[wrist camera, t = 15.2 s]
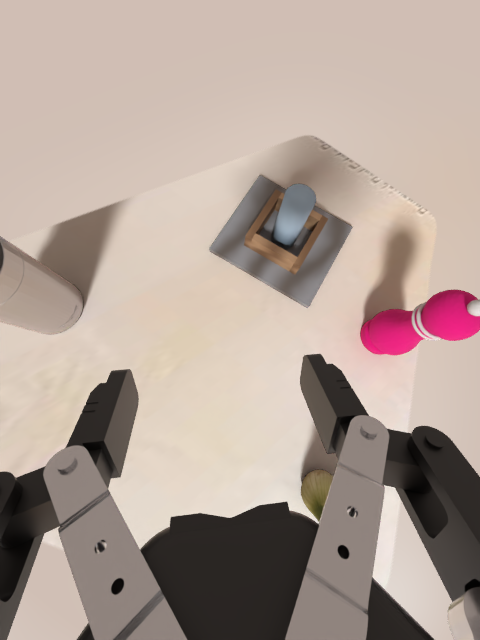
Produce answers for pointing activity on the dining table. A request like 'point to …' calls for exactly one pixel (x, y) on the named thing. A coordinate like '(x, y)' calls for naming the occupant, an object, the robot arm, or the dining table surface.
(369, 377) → the dining table surface
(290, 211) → the post
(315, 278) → the wooden frame tray
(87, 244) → the dining table surface
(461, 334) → the pepper mill
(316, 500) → the fennel bulb
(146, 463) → the dining table surface
